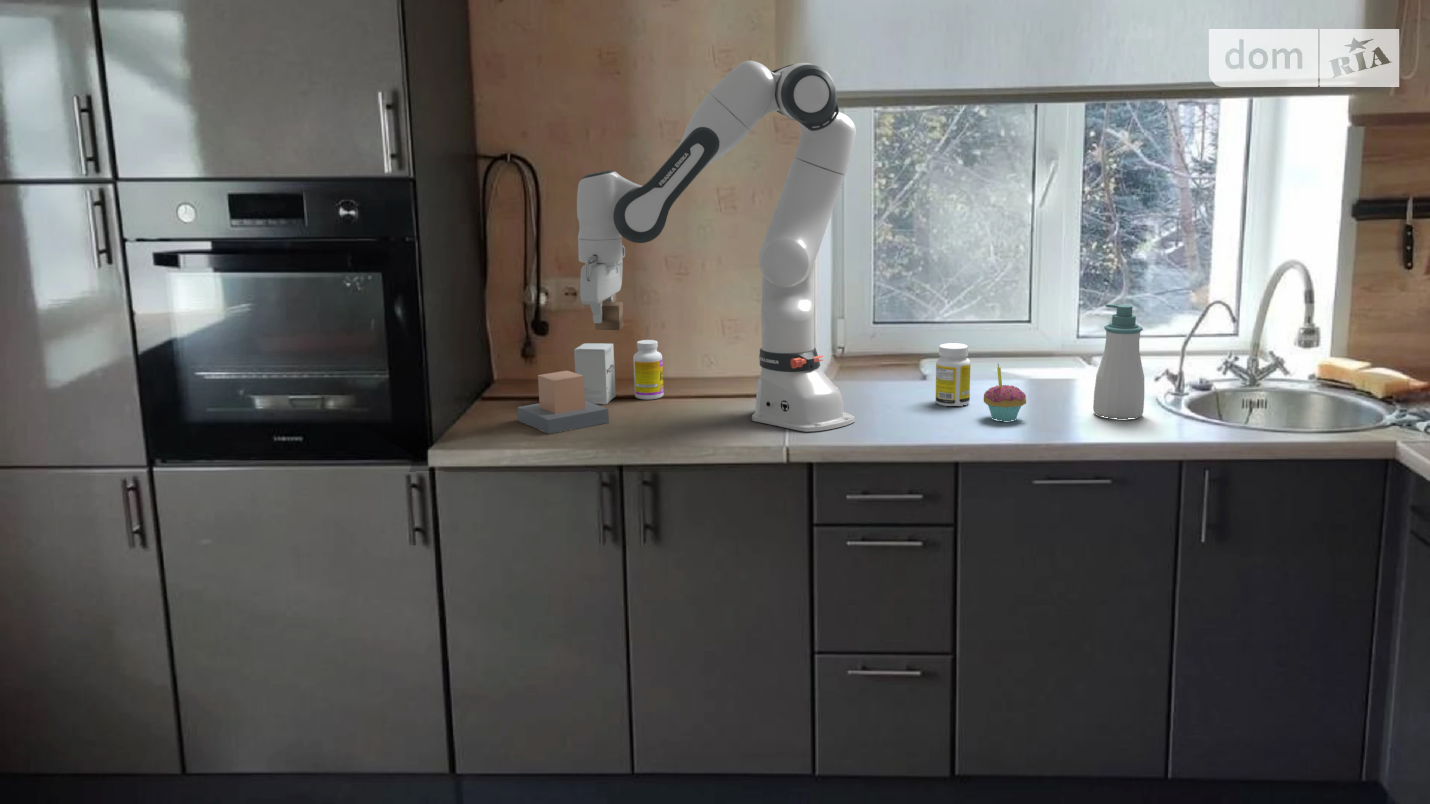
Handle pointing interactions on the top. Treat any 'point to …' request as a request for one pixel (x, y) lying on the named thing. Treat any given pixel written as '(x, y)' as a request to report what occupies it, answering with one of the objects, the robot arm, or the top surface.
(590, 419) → the base slab
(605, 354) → the supplement box
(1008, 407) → the cupcake
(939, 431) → the top surface
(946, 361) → the supplement bottle
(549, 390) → the terracotta block
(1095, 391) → the soap bottle
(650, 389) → the supplement bottle
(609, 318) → the walnut block
